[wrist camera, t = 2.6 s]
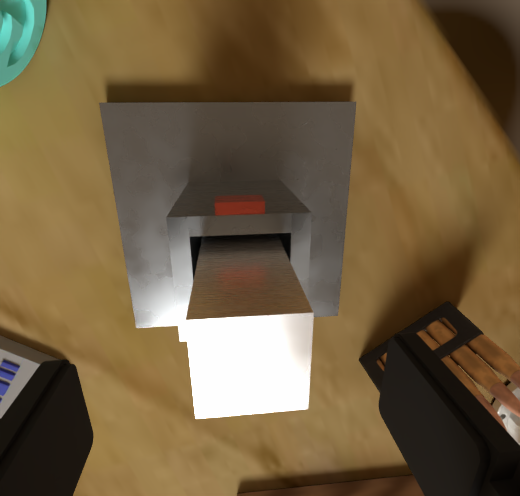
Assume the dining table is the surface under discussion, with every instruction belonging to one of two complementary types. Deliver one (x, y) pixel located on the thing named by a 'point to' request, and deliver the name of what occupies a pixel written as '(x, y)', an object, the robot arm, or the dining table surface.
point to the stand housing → (228, 192)
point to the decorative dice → (19, 35)
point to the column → (248, 328)
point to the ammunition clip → (458, 356)
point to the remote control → (16, 369)
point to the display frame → (352, 488)
